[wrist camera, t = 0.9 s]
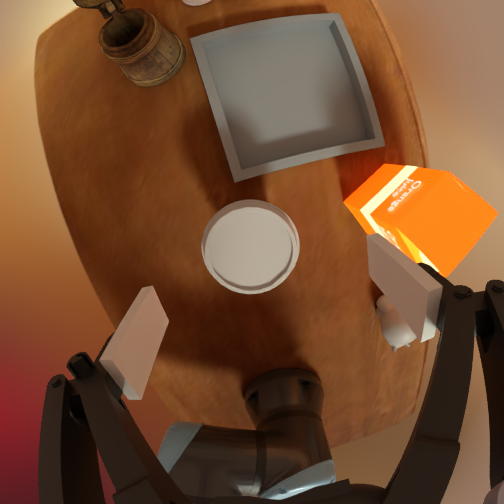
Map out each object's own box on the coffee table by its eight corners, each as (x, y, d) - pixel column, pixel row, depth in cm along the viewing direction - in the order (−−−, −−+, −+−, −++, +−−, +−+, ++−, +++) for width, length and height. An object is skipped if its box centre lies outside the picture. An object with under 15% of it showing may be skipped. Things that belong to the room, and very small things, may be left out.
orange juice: (410, 203, 36) (506, 242, 17) (371, 240, 38) (455, 305, 19) (383, 162, 34) (486, 176, 15) (341, 201, 36) (428, 245, 17)
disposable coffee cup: (229, 176, 34) (222, 184, 23) (295, 205, 36) (319, 227, 25) (202, 241, 37) (185, 277, 26) (265, 266, 39) (275, 310, 27)
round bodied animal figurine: (367, 330, 47) (383, 368, 40) (372, 293, 39) (394, 338, 32) (400, 318, 46) (417, 353, 40) (410, 279, 38) (435, 320, 32)
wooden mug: (162, 5, 25) (121, -62, 8) (195, 67, 29) (157, 1, 12) (110, 35, 26) (46, -13, 9) (136, 98, 30) (62, 64, 13)
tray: (373, 146, 33) (385, 146, 30) (235, 180, 35) (234, 182, 31) (331, 23, 27) (339, 13, 24) (194, 48, 28) (189, 38, 25)
